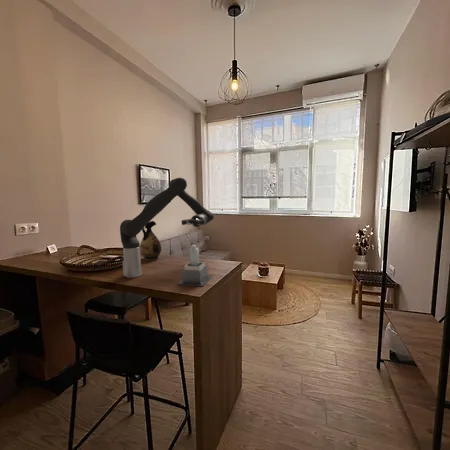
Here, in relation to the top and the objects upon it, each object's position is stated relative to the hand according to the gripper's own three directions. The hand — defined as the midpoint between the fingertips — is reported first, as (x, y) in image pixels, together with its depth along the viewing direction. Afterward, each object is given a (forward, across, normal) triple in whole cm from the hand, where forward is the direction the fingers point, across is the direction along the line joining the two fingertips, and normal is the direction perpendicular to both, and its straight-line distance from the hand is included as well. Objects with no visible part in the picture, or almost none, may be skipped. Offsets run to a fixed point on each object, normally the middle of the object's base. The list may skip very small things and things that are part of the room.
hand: (189, 223), depth 148 cm
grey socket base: (+14, +8, +30) cm, 34 cm away
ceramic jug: (-24, -42, +30) cm, 57 cm away
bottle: (+14, +8, +23) cm, 28 cm away
